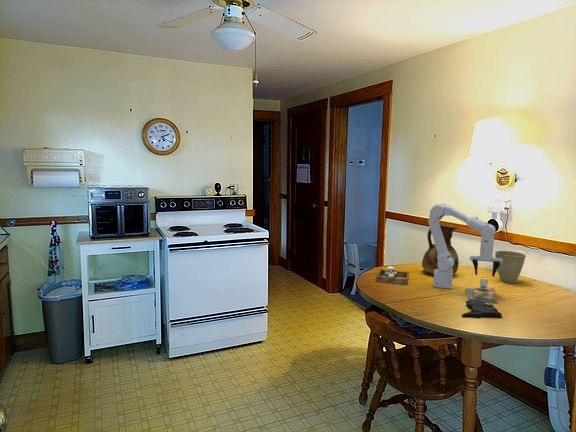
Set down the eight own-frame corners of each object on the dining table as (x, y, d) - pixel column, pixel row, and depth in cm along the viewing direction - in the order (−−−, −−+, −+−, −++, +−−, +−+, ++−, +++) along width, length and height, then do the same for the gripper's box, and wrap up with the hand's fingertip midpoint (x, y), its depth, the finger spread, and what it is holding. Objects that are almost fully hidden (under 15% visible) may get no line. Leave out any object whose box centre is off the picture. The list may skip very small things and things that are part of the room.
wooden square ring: (474, 297, 191) (474, 291, 190) (472, 292, 198) (472, 287, 198) (492, 299, 188) (493, 293, 188) (490, 294, 196) (490, 288, 195)
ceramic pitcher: (463, 278, 228) (466, 226, 224) (427, 278, 228) (430, 226, 224) (449, 269, 247) (453, 221, 243) (417, 269, 248) (419, 221, 244)
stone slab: (454, 305, 191) (455, 295, 191) (492, 310, 186) (493, 299, 186) (461, 318, 169) (462, 306, 169) (504, 323, 165) (505, 312, 165)
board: (468, 300, 191) (469, 291, 190) (465, 289, 208) (465, 281, 207) (496, 303, 187) (497, 294, 186) (490, 292, 204) (491, 283, 203)
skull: (403, 282, 216) (391, 267, 216) (388, 293, 219) (376, 278, 220) (403, 275, 227) (392, 261, 228) (389, 286, 230) (377, 272, 231)
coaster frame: (376, 281, 219) (376, 276, 219) (379, 274, 235) (379, 269, 234) (407, 285, 214) (407, 279, 214) (408, 277, 229) (408, 272, 229)
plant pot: (528, 282, 222) (530, 254, 220) (514, 286, 214) (517, 257, 212) (501, 276, 234) (503, 249, 232) (487, 279, 226) (489, 252, 224)
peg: (480, 292, 200) (481, 281, 199) (478, 290, 203) (479, 278, 202) (487, 293, 199) (489, 281, 198) (486, 290, 202) (487, 279, 201)
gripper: (471, 249, 197) (469, 276, 199) (504, 251, 192) (502, 279, 194) (470, 246, 203) (468, 272, 205) (501, 248, 199) (499, 275, 200)
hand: (484, 275), depth 200 cm, fingers open, 7 cm apart
